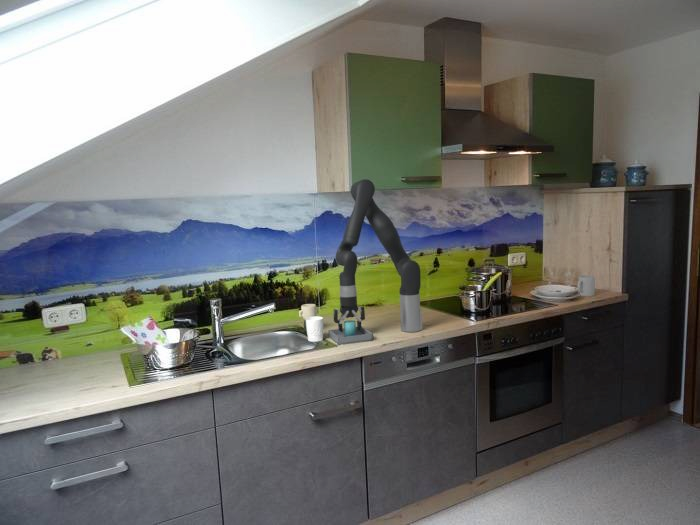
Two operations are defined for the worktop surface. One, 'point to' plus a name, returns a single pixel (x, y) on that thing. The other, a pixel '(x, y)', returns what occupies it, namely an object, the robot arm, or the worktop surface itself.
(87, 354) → the worktop surface
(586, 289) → the mug
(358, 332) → the tray
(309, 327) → the white cup
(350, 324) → the teal capsule
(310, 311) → the character mug
